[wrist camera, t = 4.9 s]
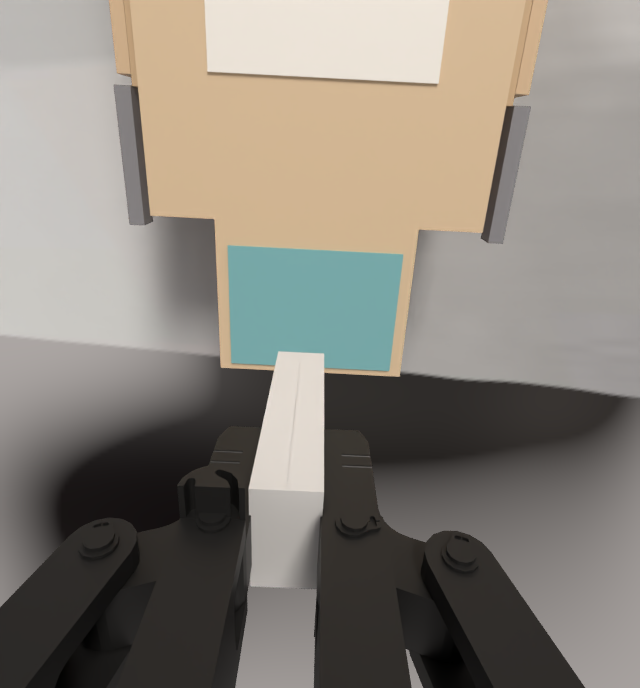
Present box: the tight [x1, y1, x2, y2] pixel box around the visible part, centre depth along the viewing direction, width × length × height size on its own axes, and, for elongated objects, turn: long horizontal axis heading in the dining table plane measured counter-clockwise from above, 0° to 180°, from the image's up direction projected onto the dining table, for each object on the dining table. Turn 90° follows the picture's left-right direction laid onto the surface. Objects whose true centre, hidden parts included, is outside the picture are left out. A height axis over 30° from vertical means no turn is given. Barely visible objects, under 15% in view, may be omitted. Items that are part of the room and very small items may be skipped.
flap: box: [130, 0, 526, 377], centre depth 17 cm, size 22×13×1 cm, turn 177°
